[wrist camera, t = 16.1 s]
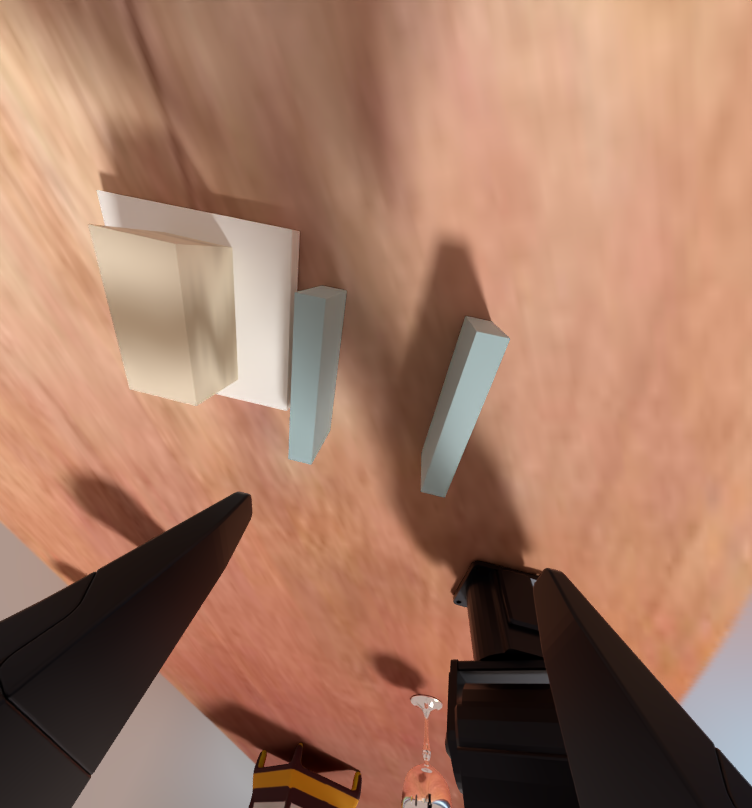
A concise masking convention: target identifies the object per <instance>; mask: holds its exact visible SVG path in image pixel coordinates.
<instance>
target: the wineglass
mask: <svg viewBox="0 0 752 808" xmlns="http://www.w3.org/2000/svg"><path fill="white" fill-rule="evenodd" d="M411 703H412V704H413V705H414V706H416V707H418V708H421V709H422V711H423V713H424V718H425V737H424V745H423V758H424V763H423V764H419V765H417V766H415V767H413V768H412V769H411V770H410V771H409V772H408V773H407V775H406V777H405V780H404V784H403V790H402V808H452V802H451V795H450V791H449V787H448V785H447V783H446V781H445V779H444V777H443V776H442V775H441V774H440V773H439V772H438V771H437V770H436V769H435V768H434V767H432V766H431V765H429V759H430V753H431V751H430V745H429V738H428V717H429V714H430V712H431V711H435V710H439V709H441V708H442V703H441V702H440V701H439V700H437V699H435V698H433V697H430V696H425V695H416V696H413V697H412V698H411Z"/></svg>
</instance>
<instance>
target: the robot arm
mask: <svg viewBox="0 0 752 808" xmlns="http://www.w3.org/2000/svg"><path fill="white" fill-rule="evenodd" d="M251 517H252V499H251V495H250V494H248V493H244V492H235V493H233V494H232V495H230V496H228V497H226V498H225V499H223V500H221V501H219V502H217V503H216V504H214V505H212V506H210V507H209V508H207V509H205V510H203V511H201V512H200V513H198V514H196V515H194V516H192V517H191V518H189V519H187V520H185V521H184V522H182V523H180V524H178V525H176V526H175V527H173V528H171V529H169V530H168V531H166V532H164V533H162V534H160V535H159V536H157V537H155V538H153V539H152V540H150V541H148V542H146V543H144V544H143V545H141V546H139V547H137V548H135V549H134V550H132V551H130V552H128V553H127V554H125V555H123V556H121V557H119V558H118V559H116V560H114V561H112V562H111V563H109V564H107V565H105V566H103V567H102V568H100V569H98V570H97V572H93V573H91V574H89V575H87V576H85V577H84V578H82V579H80V580H78V581H76V582H75V583H73V584H71V585H69V586H67V587H66V588H64V589H62V590H60V591H58V592H56V593H54V594H53V595H51V596H49V597H47V598H45V599H43V600H42V601H40V602H38V603H36V604H34V605H32V606H30V607H28V608H26V609H24V610H22V611H20V612H18V613H16V614H14V615H12V616H10V617H8V618H6V619H4V620H2V621H0V808H72V806H73V805H74V803H75V801H76V800H77V798H78V797H79V795H80V794H81V792H82V790H83V789H84V787H85V786H86V784H87V783H88V781H89V780H90V778H91V775H92V774H93V773H94V772H95V770H96V768H97V767H98V765H99V764H100V762H101V761H102V759H103V758H104V756H105V754H106V753H107V751H108V750H109V748H110V747H111V745H112V743H113V742H114V740H115V739H116V737H117V736H118V734H119V733H120V731H121V729H122V728H123V726H124V725H125V723H126V722H127V720H128V719H129V717H130V715H131V714H132V712H133V711H134V709H135V708H136V706H137V705H138V703H139V702H140V700H141V698H142V697H143V695H144V694H145V692H146V691H147V689H148V688H149V686H150V685H151V683H152V681H153V680H154V678H155V677H156V675H157V674H158V672H159V671H160V669H161V668H162V666H163V664H164V663H165V661H166V660H167V658H168V657H169V655H170V654H171V652H172V650H173V649H174V647H175V646H176V644H177V643H178V641H179V640H180V638H181V636H182V635H183V633H184V632H185V630H186V629H187V627H188V626H189V624H190V622H191V621H192V619H193V618H194V616H195V615H196V613H197V612H198V610H199V609H200V607H201V605H202V604H203V602H204V601H205V599H206V598H207V596H208V595H209V593H210V591H211V590H212V588H213V587H214V585H215V584H216V582H217V581H218V579H219V577H220V576H221V574H222V573H223V571H224V569H225V568H226V566H227V564H228V562H229V560H230V558H231V556H232V555H233V553H234V551H235V549H236V547H237V545H238V543H239V541H240V539H241V537H242V535H243V533H244V531H245V529H246V527H247V525H248V524H249V522H250V520H251ZM453 601H454V603H455V604H457V605H460V606H464V607H467V608H468V617H469V625H470V633H471V641H472V649H473V658H474V661H458V660H451V666H450V672H449V687H448V714H447V733H446V739H445V747H446V752H447V754H448V755H449V757H450V758H451V762H452V767H453V772H454V776H455V780H456V784H457V786H458V789H459V791H460V792H461V793H462V794H463V799H464V808H752V786H751V785H750V784H749V783H748V781H747V780H746V779H745V778H744V777H743V776H742V775H741V774H740V772H739V771H738V770H737V769H736V768H735V767H734V766H733V765H732V763H731V762H730V761H729V760H728V759H727V758H726V757H725V755H724V754H723V753H722V752H721V751H720V750H719V749H718V748H715V746H714V744H713V742H712V741H711V740H710V739H709V737H708V736H707V735H706V734H705V733H704V732H703V731H702V730H701V728H700V727H699V726H698V725H697V724H696V723H695V722H694V720H693V719H692V718H691V717H690V716H689V715H688V714H687V713H686V711H685V710H684V709H683V708H682V707H681V706H680V705H679V703H678V702H677V701H676V700H675V699H674V698H673V697H672V696H671V694H670V693H669V692H668V691H667V690H666V689H665V688H664V686H663V685H662V684H661V683H660V682H659V681H658V680H657V679H656V677H655V676H654V675H653V674H652V673H651V672H650V671H649V669H648V668H647V667H646V666H645V665H644V664H643V663H642V661H641V660H640V659H639V658H638V657H637V656H636V655H635V654H634V652H633V651H632V650H631V649H630V648H629V647H628V646H627V644H626V643H625V642H624V641H623V640H622V639H621V638H620V637H619V635H618V634H617V633H616V632H615V631H614V630H613V629H612V627H611V626H610V625H609V624H608V623H607V622H606V621H605V620H604V618H603V617H602V616H601V615H600V614H599V613H598V612H597V610H596V609H595V608H594V607H593V606H592V605H591V604H590V603H589V601H588V600H587V599H586V598H585V597H584V596H583V595H582V593H581V592H580V591H579V590H578V589H577V588H576V587H575V586H574V584H573V583H572V582H571V581H570V580H569V579H568V578H567V576H566V575H565V574H564V573H562V572H561V571H558V570H554V569H550V568H546V569H544V570H543V572H542V573H541V574H540V576H536V575H532V574H528V573H524V572H520V571H516V570H512V569H509V568H505V567H501V566H497V565H493V564H489V563H485V562H481V561H474V562H473V563H472V564H471V566H470V568H469V570H468V571H467V573H466V575H465V577H464V578H463V580H462V582H461V584H460V586H459V587H458V589H457V591H456V593H455V594H454V596H453Z"/></svg>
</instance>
